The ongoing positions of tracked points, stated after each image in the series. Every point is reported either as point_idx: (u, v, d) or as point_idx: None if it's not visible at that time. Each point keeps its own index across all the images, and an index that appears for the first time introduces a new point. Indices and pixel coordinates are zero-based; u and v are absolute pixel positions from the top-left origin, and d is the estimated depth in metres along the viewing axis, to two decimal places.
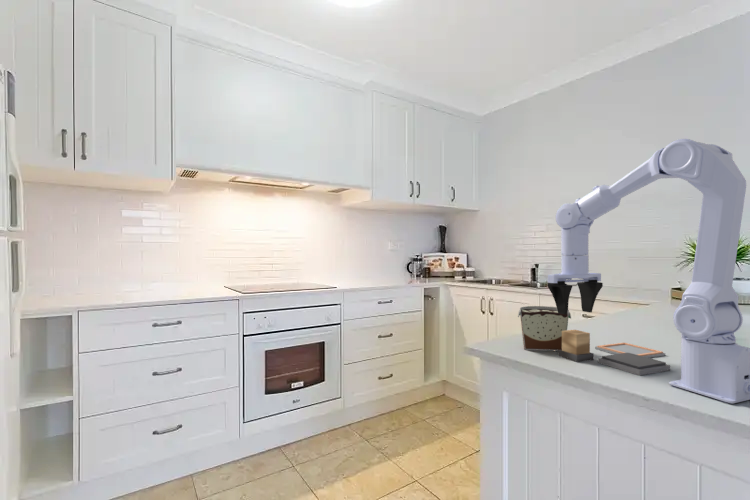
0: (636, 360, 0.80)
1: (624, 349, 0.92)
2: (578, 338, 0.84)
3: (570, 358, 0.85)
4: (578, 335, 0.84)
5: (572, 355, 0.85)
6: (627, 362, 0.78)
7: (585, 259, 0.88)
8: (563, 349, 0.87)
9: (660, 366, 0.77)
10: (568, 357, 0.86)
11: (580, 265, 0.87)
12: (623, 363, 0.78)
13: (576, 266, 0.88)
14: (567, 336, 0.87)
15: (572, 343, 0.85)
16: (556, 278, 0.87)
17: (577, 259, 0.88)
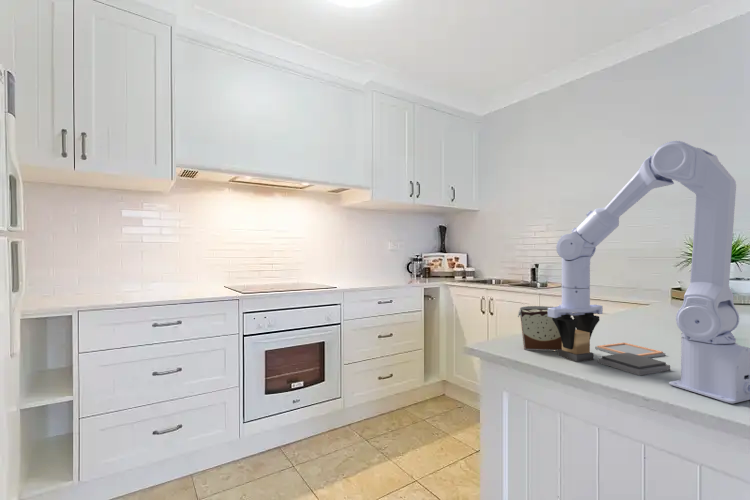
0: (636, 360, 0.80)
1: (624, 349, 0.92)
2: (578, 337, 0.84)
3: (570, 358, 0.85)
4: (578, 335, 0.84)
5: (572, 355, 0.85)
6: (627, 362, 0.78)
7: (586, 292, 0.84)
8: (563, 349, 0.87)
9: (660, 366, 0.77)
10: (568, 357, 0.86)
11: (581, 299, 0.84)
12: (623, 363, 0.78)
13: (577, 300, 0.84)
14: None
15: None
16: (556, 312, 0.83)
17: (578, 292, 0.84)
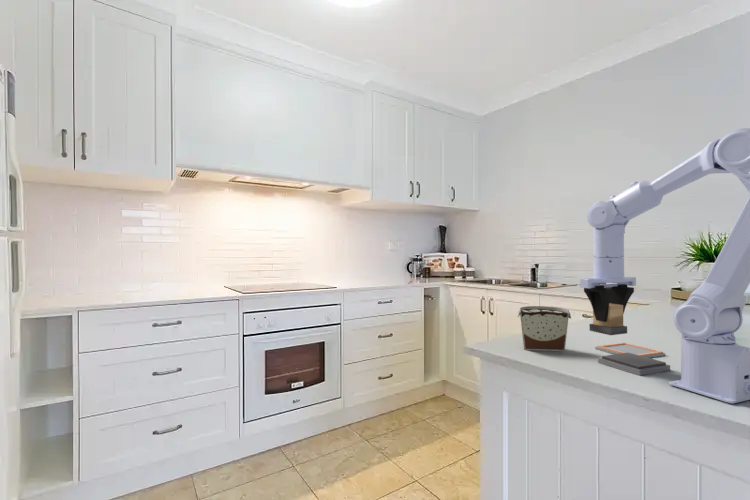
0: (636, 360, 0.80)
1: (624, 349, 0.92)
2: (612, 310, 0.81)
3: (603, 331, 0.81)
4: (612, 307, 0.81)
5: (605, 328, 0.81)
6: (627, 362, 0.78)
7: (621, 262, 0.80)
8: (595, 323, 0.84)
9: (660, 366, 0.77)
10: (601, 330, 0.82)
11: (616, 269, 0.80)
12: (623, 363, 0.78)
13: (611, 269, 0.80)
14: None
15: None
16: (590, 283, 0.80)
17: (612, 262, 0.80)
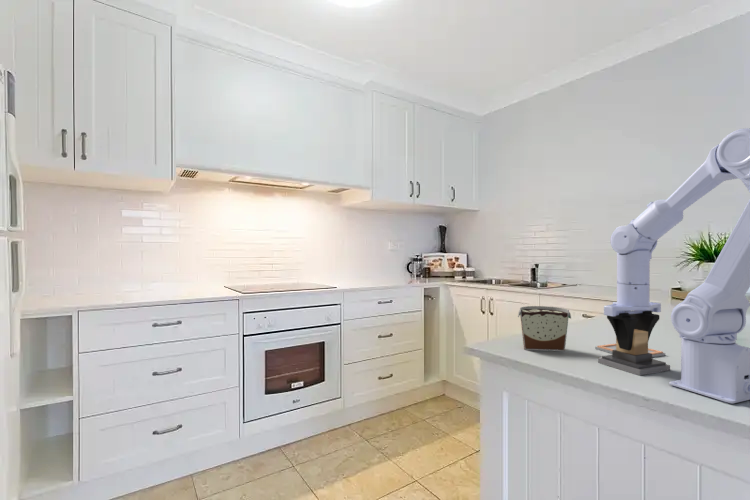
0: None
1: None
2: (636, 337, 0.78)
3: (627, 359, 0.79)
4: (636, 334, 0.78)
5: (630, 355, 0.78)
6: (627, 362, 0.78)
7: (647, 289, 0.78)
8: (618, 349, 0.81)
9: (660, 366, 0.77)
10: (625, 358, 0.79)
11: (641, 296, 0.78)
12: (623, 363, 0.78)
13: (637, 297, 0.78)
14: None
15: None
16: (614, 310, 0.77)
17: (638, 289, 0.78)
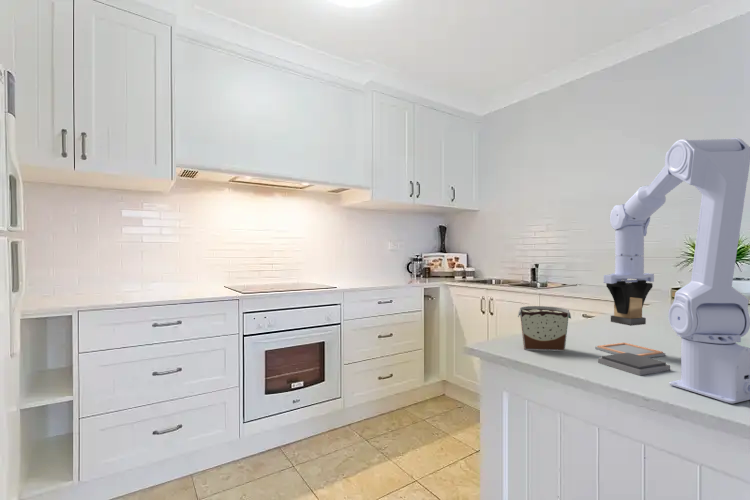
0: (636, 360, 0.80)
1: (624, 349, 0.92)
2: (632, 302, 0.89)
3: (624, 322, 0.90)
4: (632, 300, 0.89)
5: (626, 319, 0.89)
6: (627, 362, 0.78)
7: (641, 260, 0.88)
8: (616, 314, 0.92)
9: (660, 366, 0.77)
10: (621, 321, 0.90)
11: (636, 266, 0.88)
12: (623, 363, 0.78)
13: (632, 267, 0.88)
14: None
15: None
16: (613, 278, 0.88)
17: (633, 260, 0.88)
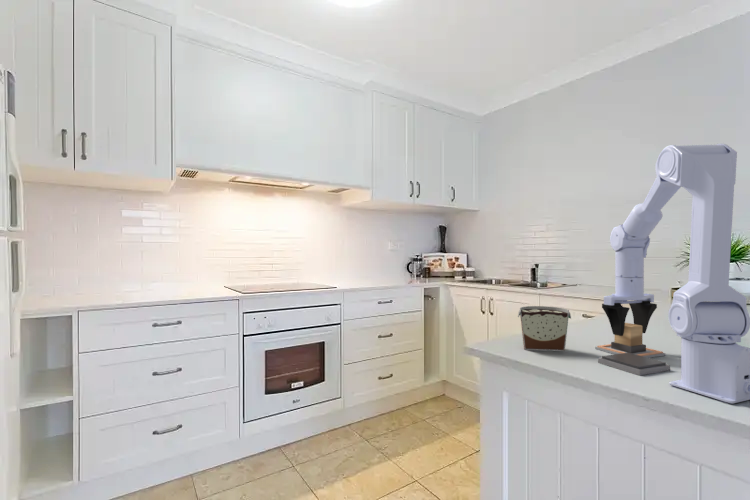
0: (636, 360, 0.80)
1: None
2: (632, 330, 0.89)
3: (624, 349, 0.90)
4: (632, 327, 0.89)
5: (626, 346, 0.90)
6: (627, 362, 0.78)
7: (641, 281, 0.89)
8: (616, 341, 0.92)
9: (660, 366, 0.77)
10: (622, 348, 0.91)
11: (636, 287, 0.89)
12: (623, 363, 0.78)
13: (632, 288, 0.89)
14: None
15: (626, 335, 0.90)
16: (613, 300, 0.88)
17: (633, 281, 0.89)
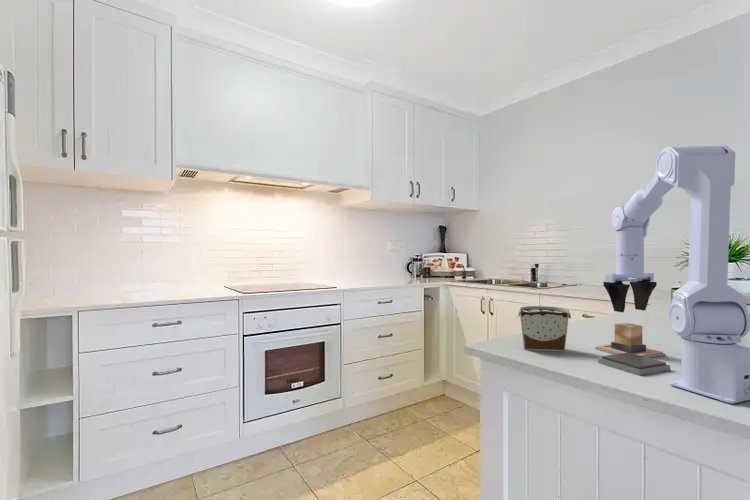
0: (636, 360, 0.80)
1: None
2: (632, 330, 0.89)
3: (624, 349, 0.90)
4: (632, 327, 0.89)
5: (626, 346, 0.90)
6: (627, 362, 0.78)
7: (641, 259, 0.92)
8: (616, 341, 0.92)
9: (660, 366, 0.77)
10: (622, 348, 0.91)
11: (637, 265, 0.91)
12: (623, 363, 0.78)
13: (633, 266, 0.92)
14: (620, 329, 0.91)
15: (626, 335, 0.90)
16: (614, 278, 0.91)
17: (634, 259, 0.92)
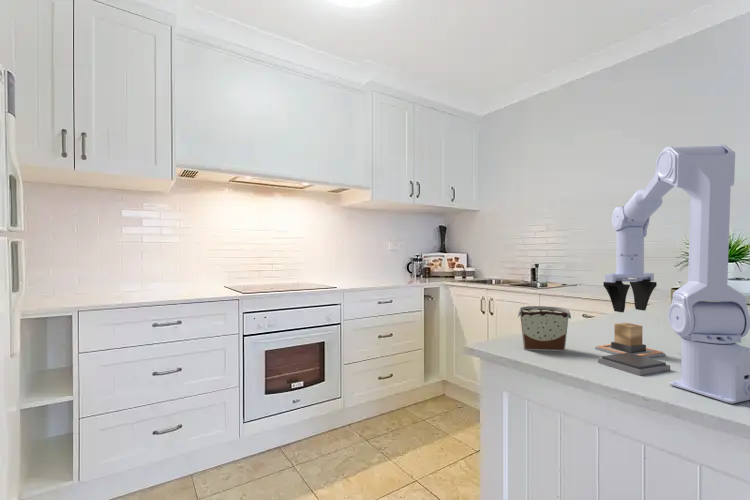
0: (636, 360, 0.80)
1: None
2: (632, 330, 0.89)
3: (624, 349, 0.90)
4: (632, 327, 0.89)
5: (626, 346, 0.90)
6: (627, 362, 0.78)
7: (641, 259, 0.92)
8: (616, 341, 0.92)
9: (660, 366, 0.77)
10: (622, 348, 0.91)
11: (637, 265, 0.91)
12: (623, 363, 0.78)
13: (633, 266, 0.92)
14: (620, 329, 0.91)
15: (626, 335, 0.90)
16: (614, 278, 0.91)
17: (634, 259, 0.92)
